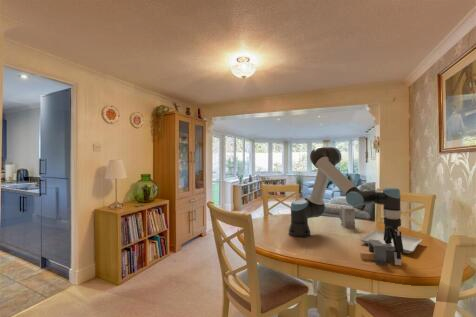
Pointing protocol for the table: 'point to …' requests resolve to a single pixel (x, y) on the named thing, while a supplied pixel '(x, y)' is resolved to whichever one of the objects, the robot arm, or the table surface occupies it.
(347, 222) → the circuit breaker
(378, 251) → the housing
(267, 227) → the table surface
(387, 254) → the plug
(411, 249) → the square plate
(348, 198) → the robot arm
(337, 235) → the table surface
